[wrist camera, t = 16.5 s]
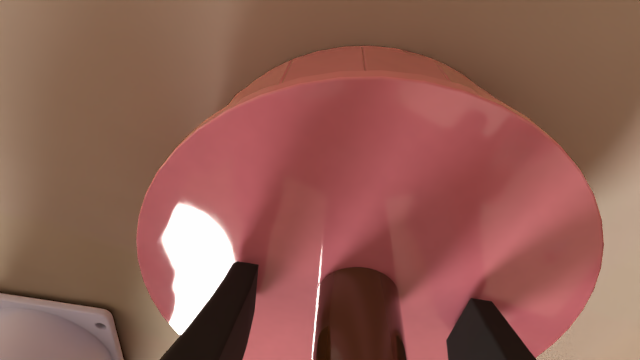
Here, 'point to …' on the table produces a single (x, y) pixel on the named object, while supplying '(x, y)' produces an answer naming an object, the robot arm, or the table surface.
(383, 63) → the pot
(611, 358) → the table surface
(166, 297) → the lid
